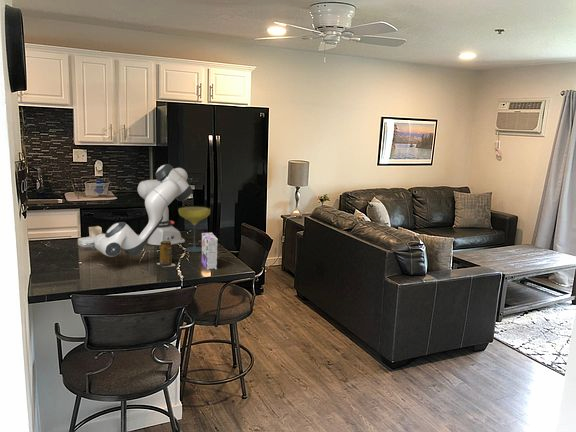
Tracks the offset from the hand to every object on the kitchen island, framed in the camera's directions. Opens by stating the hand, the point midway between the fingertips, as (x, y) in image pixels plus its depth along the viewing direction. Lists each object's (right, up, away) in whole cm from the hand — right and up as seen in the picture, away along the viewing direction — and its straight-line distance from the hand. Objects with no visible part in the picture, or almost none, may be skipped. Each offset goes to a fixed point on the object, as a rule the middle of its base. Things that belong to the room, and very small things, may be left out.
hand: (95, 237), depth 240 cm
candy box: (+60, -15, -2) cm, 62 cm away
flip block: (0, +5, -1) cm, 5 cm away
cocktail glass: (+46, -9, +28) cm, 55 cm away
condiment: (+38, -14, -3) cm, 41 cm away
